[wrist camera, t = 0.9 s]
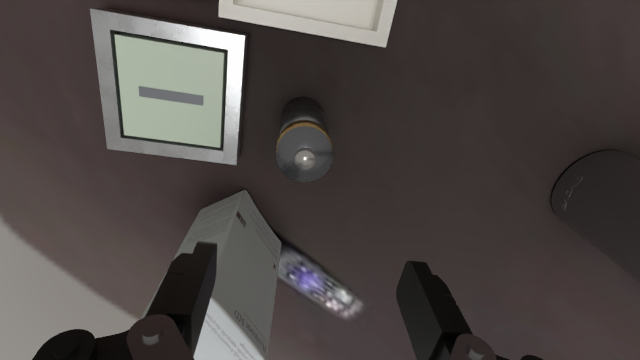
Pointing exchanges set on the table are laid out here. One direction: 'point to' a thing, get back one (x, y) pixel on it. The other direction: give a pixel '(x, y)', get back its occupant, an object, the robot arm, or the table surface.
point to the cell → (303, 141)
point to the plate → (171, 90)
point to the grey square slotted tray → (121, 21)
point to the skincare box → (236, 279)
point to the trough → (319, 17)
